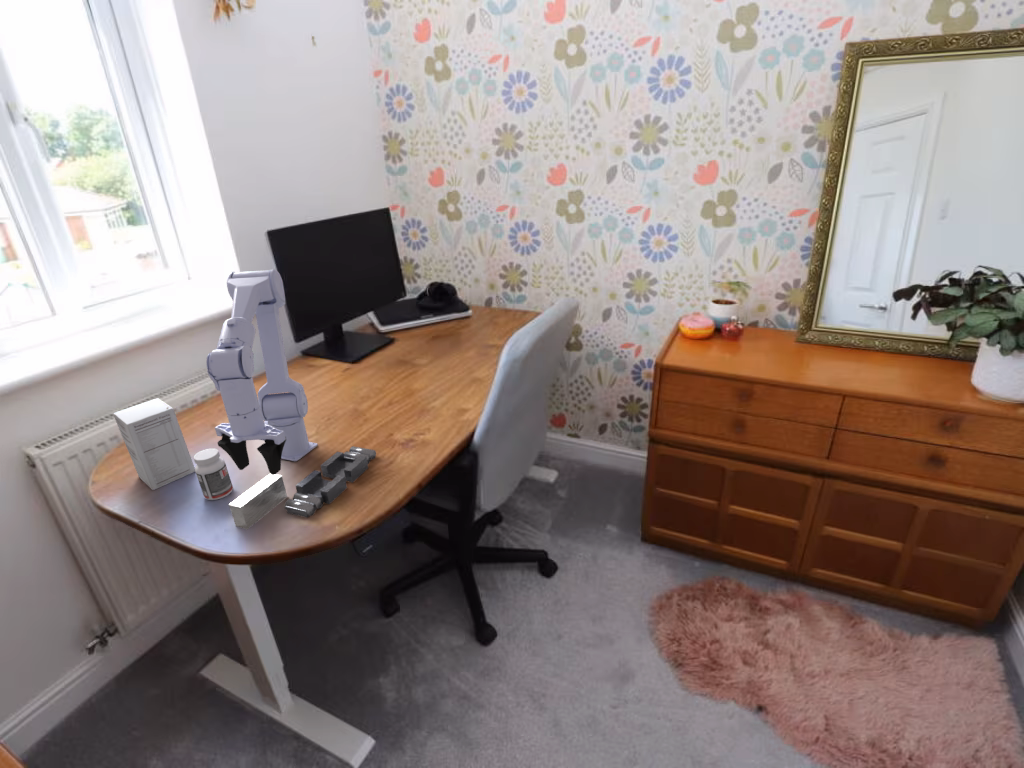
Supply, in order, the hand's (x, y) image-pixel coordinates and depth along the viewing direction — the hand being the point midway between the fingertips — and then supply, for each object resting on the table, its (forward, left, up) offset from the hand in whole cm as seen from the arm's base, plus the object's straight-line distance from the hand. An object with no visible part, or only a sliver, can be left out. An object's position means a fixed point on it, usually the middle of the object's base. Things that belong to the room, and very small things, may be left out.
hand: (260, 469), depth 105 cm
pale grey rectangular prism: (-1, -1, -10) cm, 10 cm away
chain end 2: (+7, +18, -10) cm, 22 cm away
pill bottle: (-15, +1, -10) cm, 18 cm away
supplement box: (-33, +3, -10) cm, 35 cm away
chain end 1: (+7, +5, -9) cm, 13 cm away
